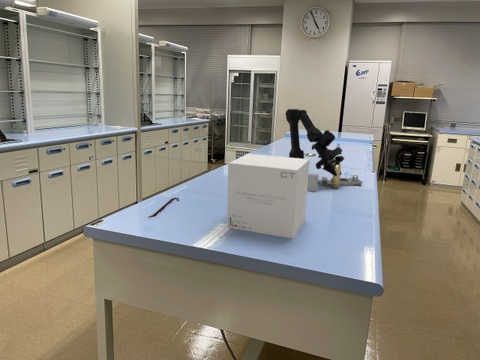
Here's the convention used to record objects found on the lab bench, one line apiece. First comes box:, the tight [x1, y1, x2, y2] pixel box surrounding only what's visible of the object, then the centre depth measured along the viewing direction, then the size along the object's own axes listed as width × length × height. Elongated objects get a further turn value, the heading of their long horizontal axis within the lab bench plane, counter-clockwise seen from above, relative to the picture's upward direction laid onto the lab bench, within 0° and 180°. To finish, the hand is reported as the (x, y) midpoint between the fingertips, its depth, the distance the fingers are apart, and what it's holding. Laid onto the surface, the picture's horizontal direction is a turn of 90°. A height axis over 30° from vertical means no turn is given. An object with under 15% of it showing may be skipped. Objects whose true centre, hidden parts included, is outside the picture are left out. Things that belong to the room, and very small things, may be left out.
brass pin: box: [331, 163, 342, 189], centre depth 194 cm, size 4×4×12 cm
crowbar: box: [148, 197, 180, 218], centre depth 157 cm, size 28×1×5 cm
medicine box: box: [307, 172, 319, 193], centre depth 190 cm, size 8×4×9 cm, turn 71°
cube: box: [226, 153, 310, 239], centre depth 140 cm, size 25×21×24 cm
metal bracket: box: [318, 174, 363, 187], centre depth 204 cm, size 23×8×5 cm, turn 96°
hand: (338, 175), depth 193 cm, fingers closed on brass pin, 4 cm apart
